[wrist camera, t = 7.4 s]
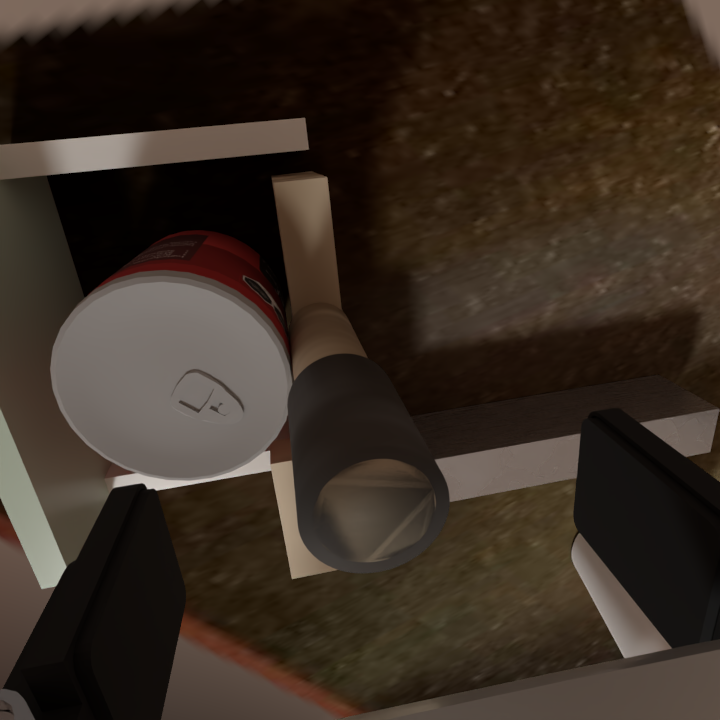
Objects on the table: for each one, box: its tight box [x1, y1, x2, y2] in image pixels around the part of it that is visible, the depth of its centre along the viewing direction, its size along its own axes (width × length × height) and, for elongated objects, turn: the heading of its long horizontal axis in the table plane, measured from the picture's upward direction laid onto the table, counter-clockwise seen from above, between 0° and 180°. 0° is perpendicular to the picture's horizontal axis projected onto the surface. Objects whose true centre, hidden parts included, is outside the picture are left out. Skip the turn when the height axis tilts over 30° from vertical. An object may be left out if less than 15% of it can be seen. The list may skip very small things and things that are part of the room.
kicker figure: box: [270, 171, 450, 579], centre depth 20 cm, size 6×19×18 cm, turn 5°
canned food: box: [50, 230, 294, 481], centre depth 22 cm, size 8×8×11 cm
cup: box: [572, 533, 672, 658], centre depth 34 cm, size 9×9×12 cm
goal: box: [0, 118, 309, 589], centre depth 22 cm, size 13×16×10 cm
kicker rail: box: [411, 375, 719, 502], centre depth 31 cm, size 22×3×5 cm, turn 95°
